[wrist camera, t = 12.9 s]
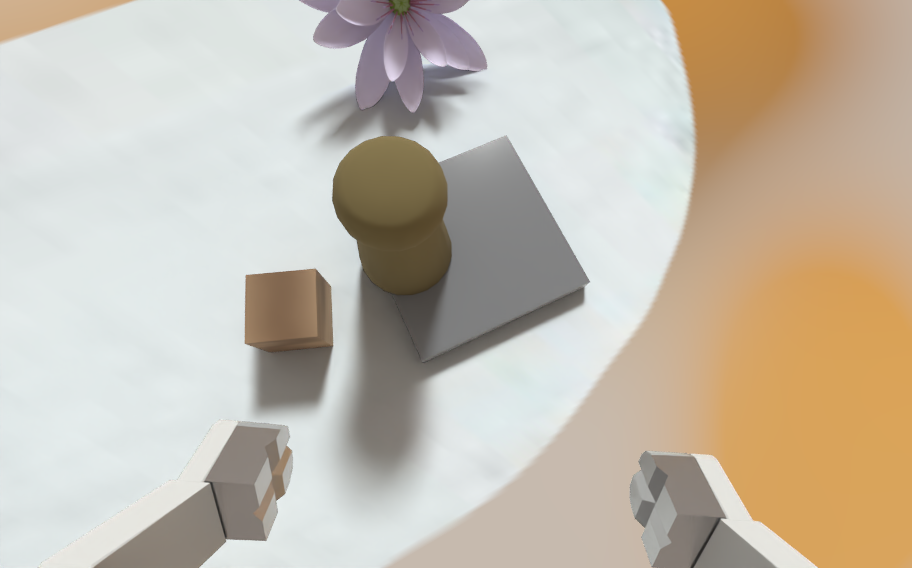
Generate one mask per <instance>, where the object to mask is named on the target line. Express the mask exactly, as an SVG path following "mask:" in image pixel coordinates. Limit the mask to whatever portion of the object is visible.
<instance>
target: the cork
mask: <svg viewBox="0 0 912 568" xmlns="http://www.w3.org/2000/svg"><path fill="white" fill-rule="evenodd" d="M332 201H333V204H334V208H335V211H336V214H337V217H338V219H339V220H340V222H341V223H342V224H343V226H344V227H345V229H346V230H347V231H348V233H349V234H350V235H351V236H352V237H353V238H355V239H356V240H357V244H358V250H359V257H360V260H361V263H362V267H363V270H364V272H365V273H366V274H367V276H368V277H369V279H370V280H371V281H372V282H373V283H374V284H375V285H377V286H378V287H380V288H381V289H382V290H384V291H387V292H390V293H393V294H396V295H414V294H417V293H420V292H424V291H427V290H428V289H430V288H431V287H432V286H434V285H435V284H437V283H438V282H439V281H440V280H441V278H442V277H443V275H444V274H445V273H446V271H447V270H448V267H449V264H450V261H451V257H452V243H451V240H450V237H449V234H448V231H447V228H446V226H445V223H444V221H443V217H444V214H445V211H446V208H447V202H448V184H447V181H446V178H445V176H444V173H443V170H442V168H441V166H440V164H439V163H438V162H437V160H436V159H435V158H434V157H433V155H432V154H431V153H430V151H428V150H427V149H426V148H424V147H423V146H421V145H420V144H418V143H417V142H415V141H412V140H409V139H405V138H402V137H399V136H381V137H377V138H374V139H370V140H367V141H364V142H363V143H361V144H359V145H358V146H356V147H355V148H353V149H352V150H350V151H349V153H348V154H347V155H346V156H345V157H344V159H343V160H342V161H341V162H340V163H339V166H338V168H337V171H336V173H335V176H334V178H333V196H332Z"/></svg>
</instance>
